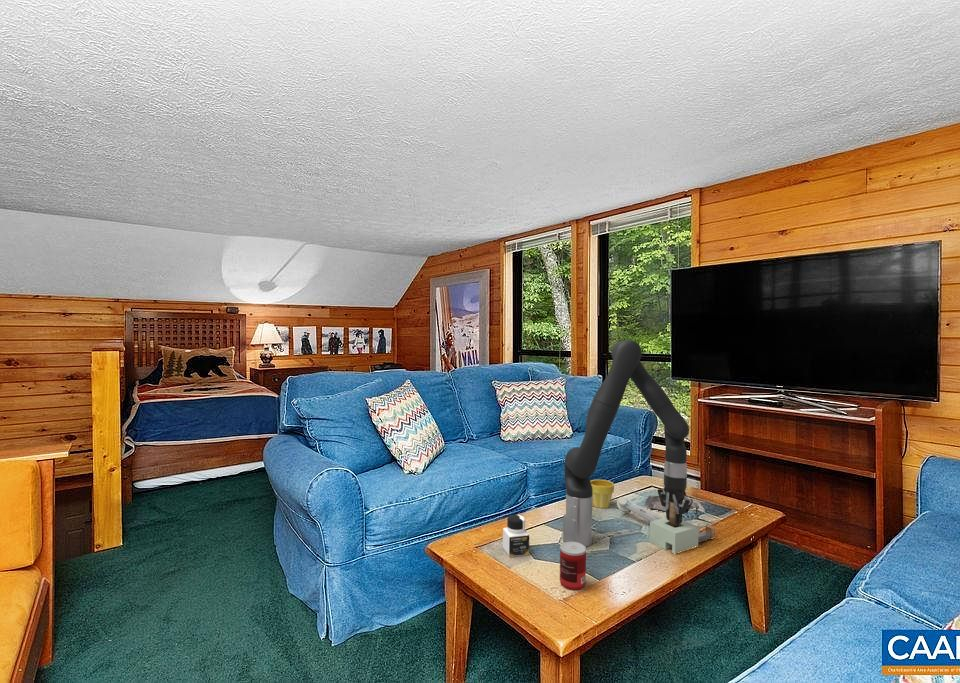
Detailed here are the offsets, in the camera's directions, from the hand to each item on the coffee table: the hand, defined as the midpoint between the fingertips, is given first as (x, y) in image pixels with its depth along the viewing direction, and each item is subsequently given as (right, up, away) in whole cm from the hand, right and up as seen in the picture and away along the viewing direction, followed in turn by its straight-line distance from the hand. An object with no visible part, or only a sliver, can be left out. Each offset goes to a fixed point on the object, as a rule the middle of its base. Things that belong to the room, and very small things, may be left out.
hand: (673, 521), depth 172 cm
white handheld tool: (-3, -6, +19) cm, 20 cm away
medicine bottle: (-57, -8, -7) cm, 58 cm away
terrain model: (+13, -8, +36) cm, 39 cm away
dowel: (0, -3, 0) cm, 3 cm away
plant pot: (-17, -7, +37) cm, 41 cm away
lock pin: (+11, -8, +3) cm, 13 cm away
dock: (0, -8, 0) cm, 8 cm away
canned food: (-41, -9, -27) cm, 50 cm away
